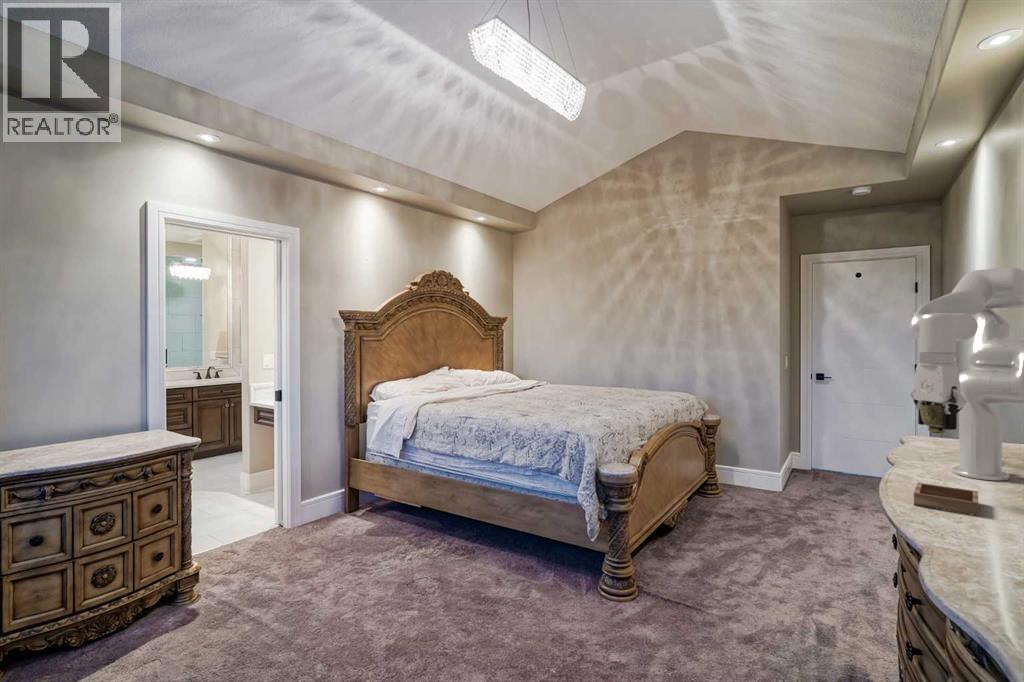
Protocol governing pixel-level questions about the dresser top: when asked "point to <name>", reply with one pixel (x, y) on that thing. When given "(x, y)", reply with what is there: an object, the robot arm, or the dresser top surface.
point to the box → (946, 498)
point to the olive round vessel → (933, 417)
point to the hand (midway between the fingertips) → (936, 426)
